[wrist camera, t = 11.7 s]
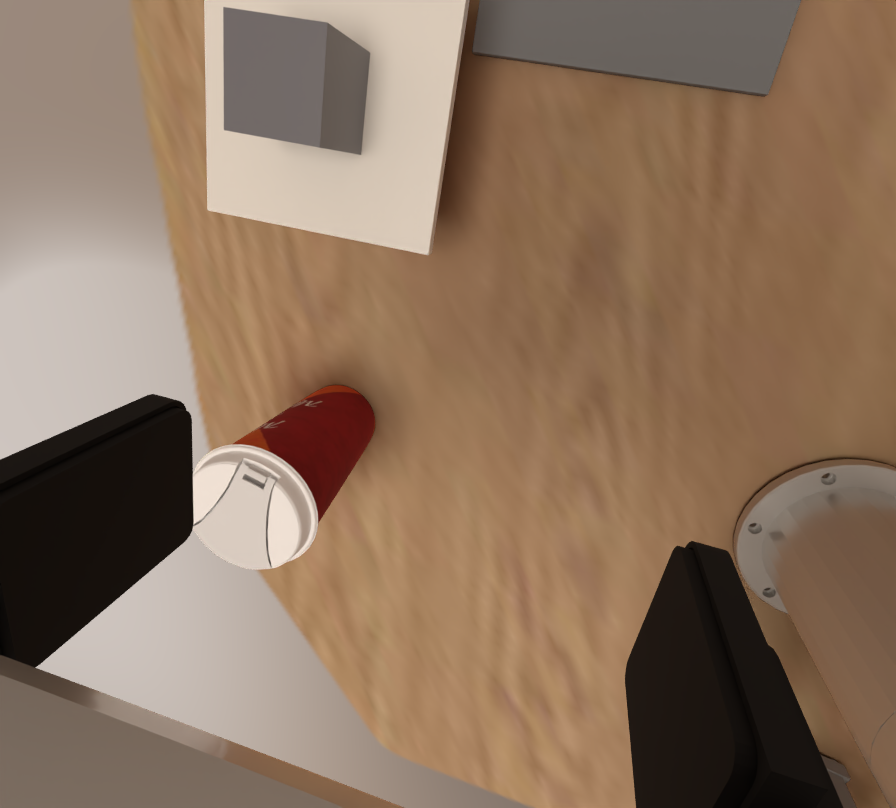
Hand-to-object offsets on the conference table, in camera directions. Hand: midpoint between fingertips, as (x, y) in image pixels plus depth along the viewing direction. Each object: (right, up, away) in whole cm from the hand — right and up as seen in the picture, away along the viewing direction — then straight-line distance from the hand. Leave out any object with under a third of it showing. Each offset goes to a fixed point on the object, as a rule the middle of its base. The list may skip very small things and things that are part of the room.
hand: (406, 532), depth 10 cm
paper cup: (-7, +1, +31) cm, 32 cm away
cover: (-5, +18, +17) cm, 26 cm away
